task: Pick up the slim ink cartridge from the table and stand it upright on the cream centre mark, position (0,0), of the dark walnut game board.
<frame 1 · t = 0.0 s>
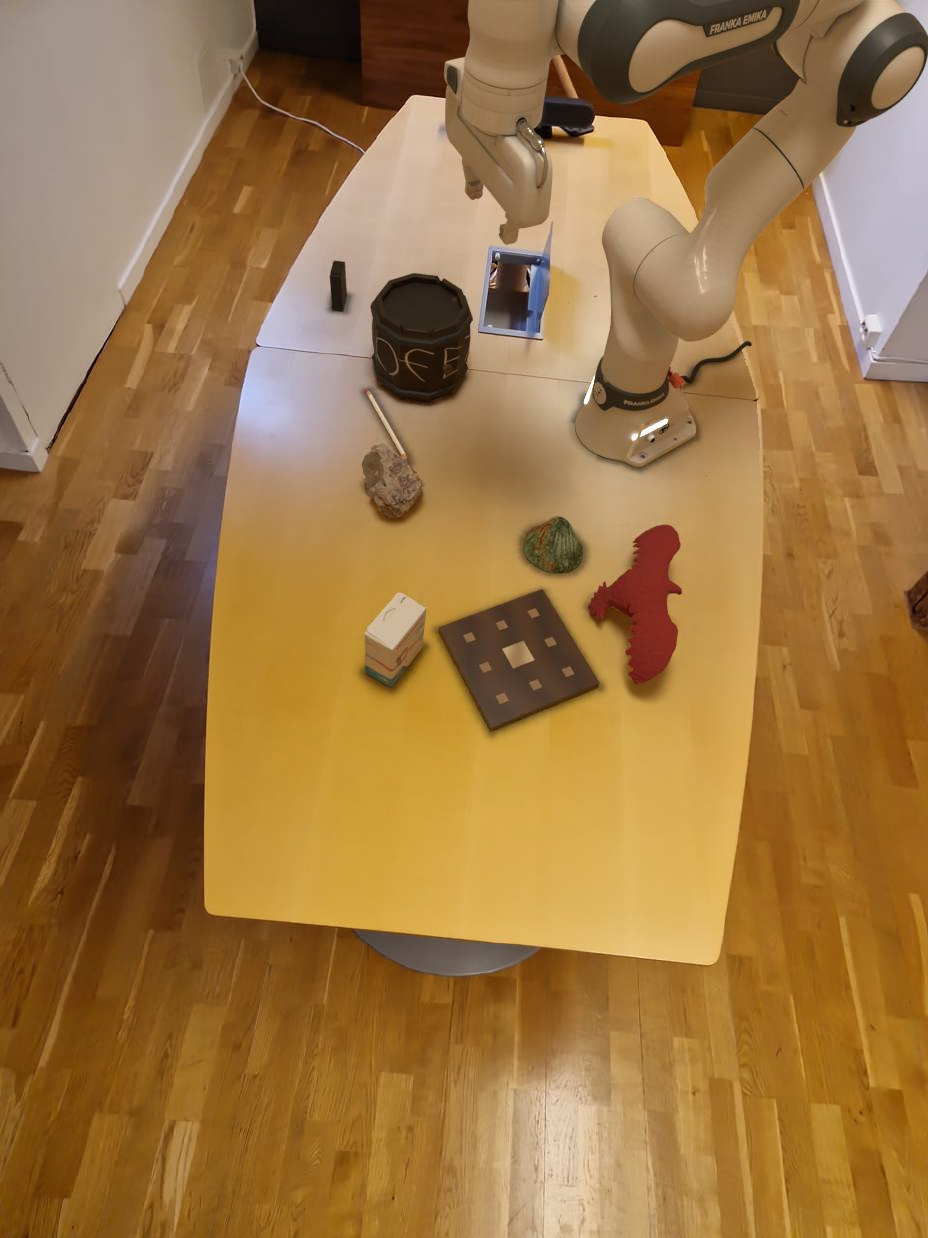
hand: (490, 217, 99), 48 cm above the table, tool pointing down, fingers open, 8 cm apart
wooden barrel: (420, 374, 153), on the table
decorative bird sculpture: (626, 615, 128), on the table
pencil: (386, 427, 145), on the table
rock: (390, 502, 137), on the table
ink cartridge: (339, 303, 161), on the table
board: (517, 658, 123), on the table
seashell: (553, 548, 134), on the table
ink box: (394, 660, 121), on the table
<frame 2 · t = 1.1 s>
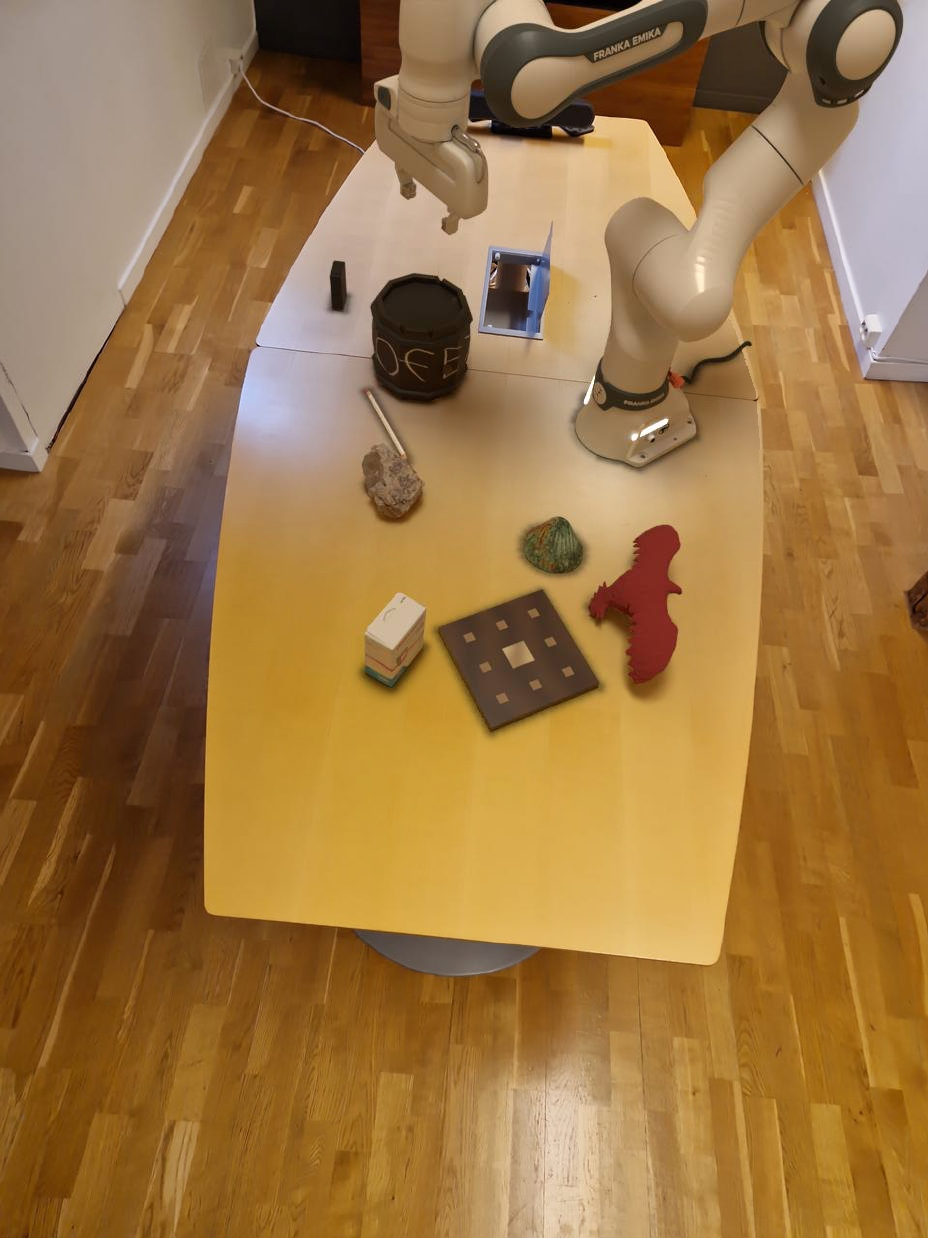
hand: (428, 213, 113), 39 cm above the table, tool pointing down, fingers open, 8 cm apart
nothing on the table moved.
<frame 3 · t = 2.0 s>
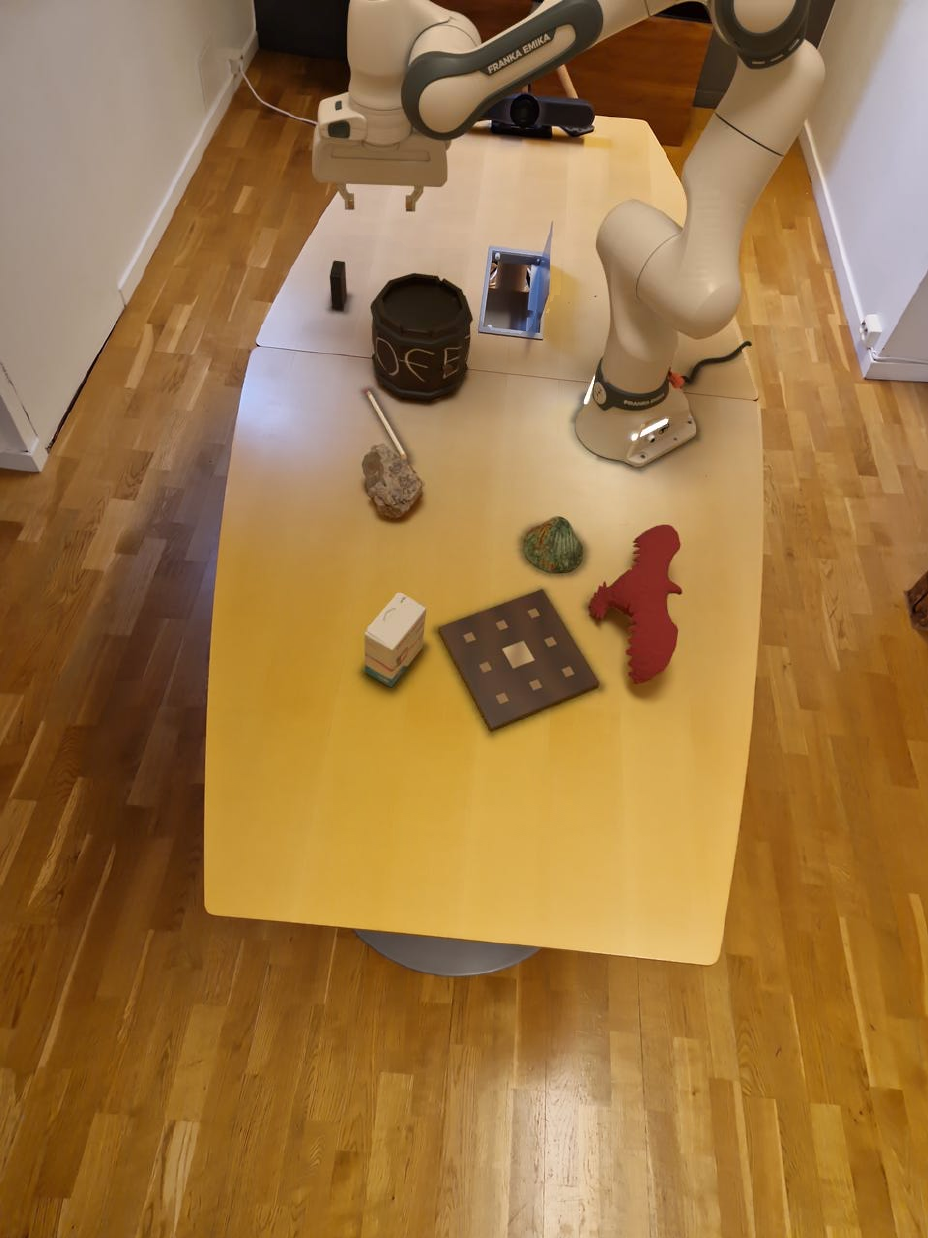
hand: (380, 208, 127), 31 cm above the table, tool pointing down, fingers open, 8 cm apart
nothing on the table moved.
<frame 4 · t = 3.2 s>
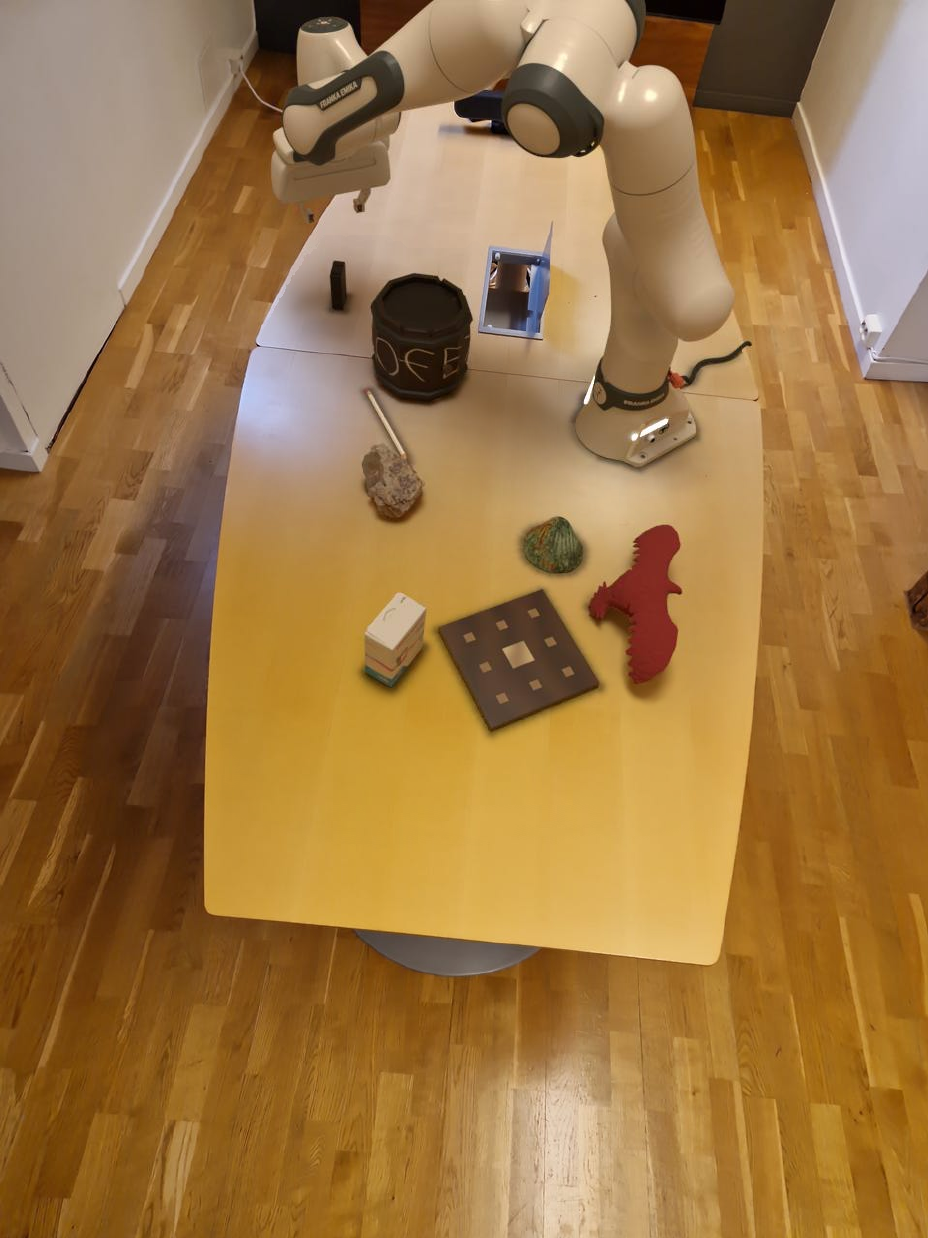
hand: (334, 215, 142), 20 cm above the table, tool pointing down, fingers open, 8 cm apart
nothing on the table moved.
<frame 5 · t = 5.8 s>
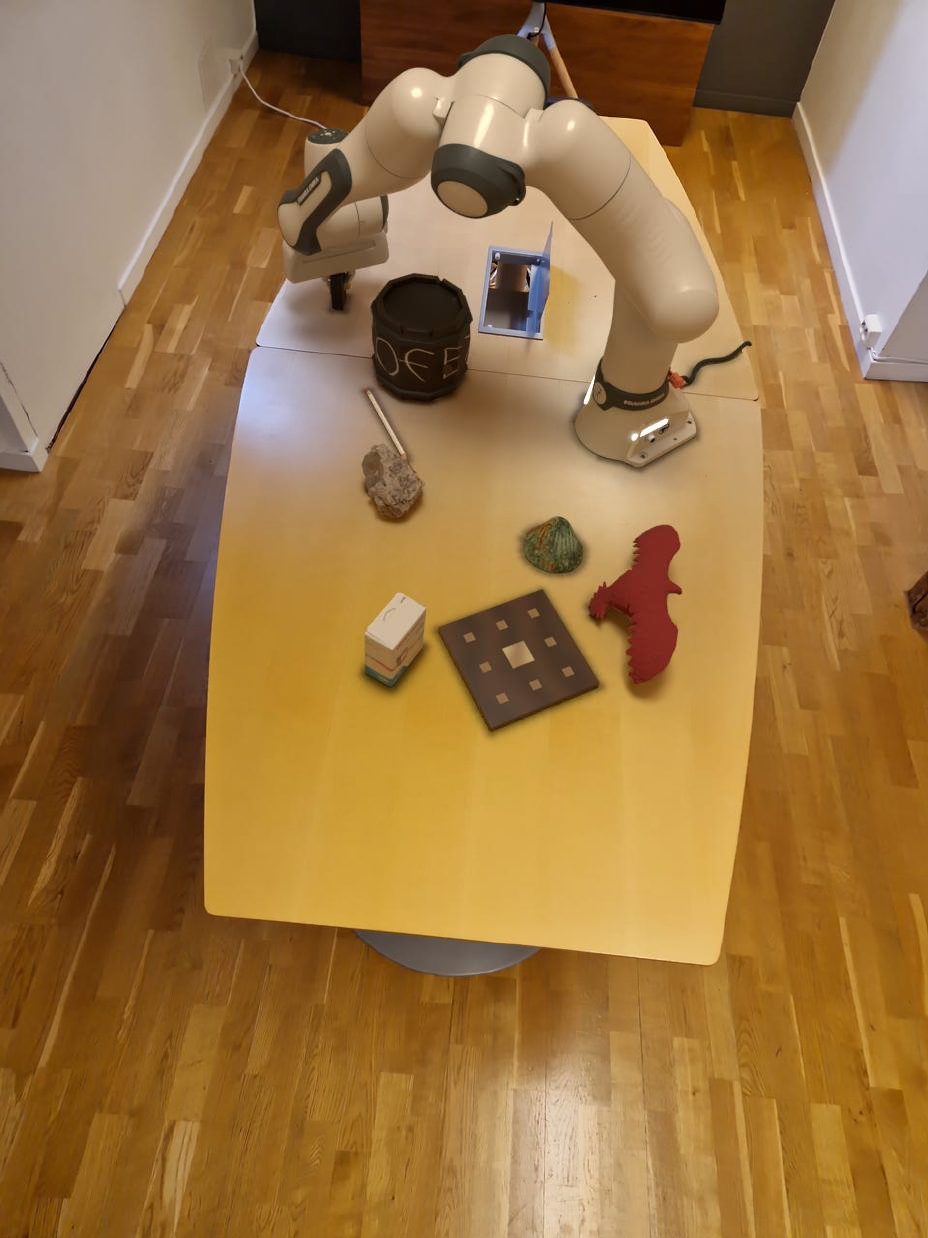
hand: (338, 289, 158), 3 cm above the table, tool pointing down, fingers closed on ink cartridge, 1 cm apart
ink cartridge: (339, 303, 161), on the table, touching gripper
everything else where it was.
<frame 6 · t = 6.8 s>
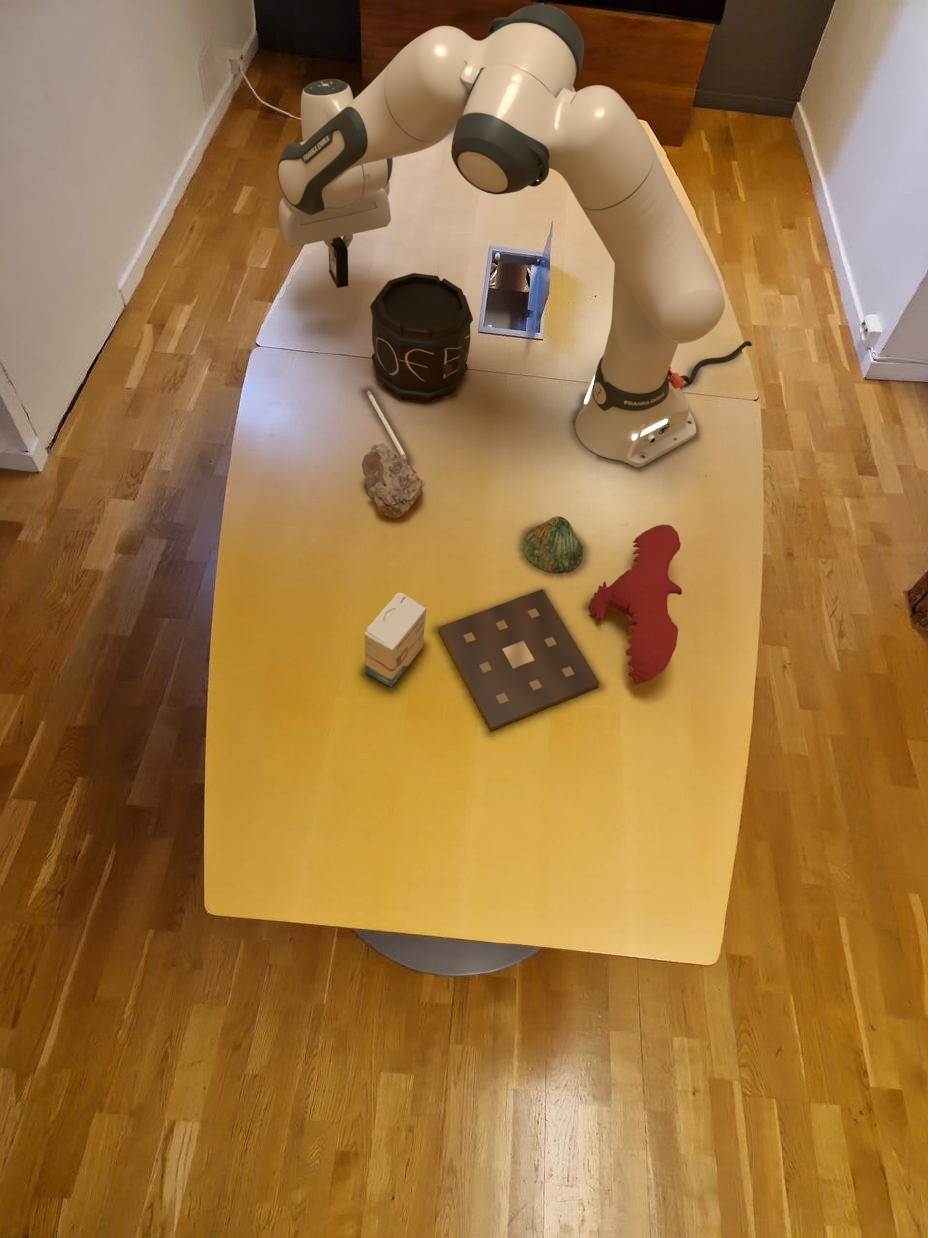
hand: (338, 255, 152), 10 cm above the table, tool pointing down, fingers closed on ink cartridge
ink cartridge: (338, 281, 157), point 5 cm above the table, touching gripper
everything else where it was.
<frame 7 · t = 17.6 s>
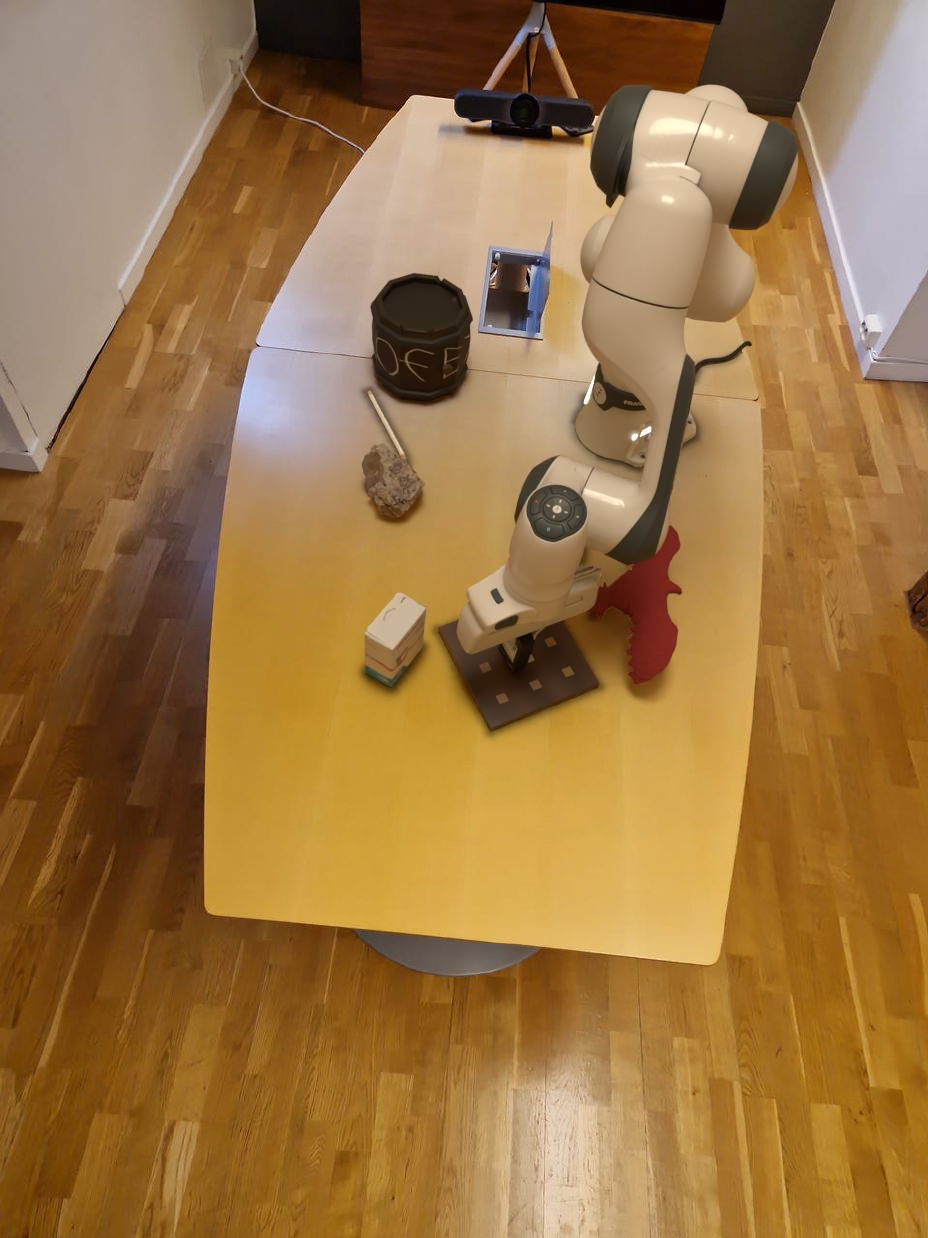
hand: (521, 639, 117), 6 cm above the table, tool pointing down, fingers closed
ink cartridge: (511, 657, 121), point 1 cm above the table, touching board, gripper
everything else where it was.
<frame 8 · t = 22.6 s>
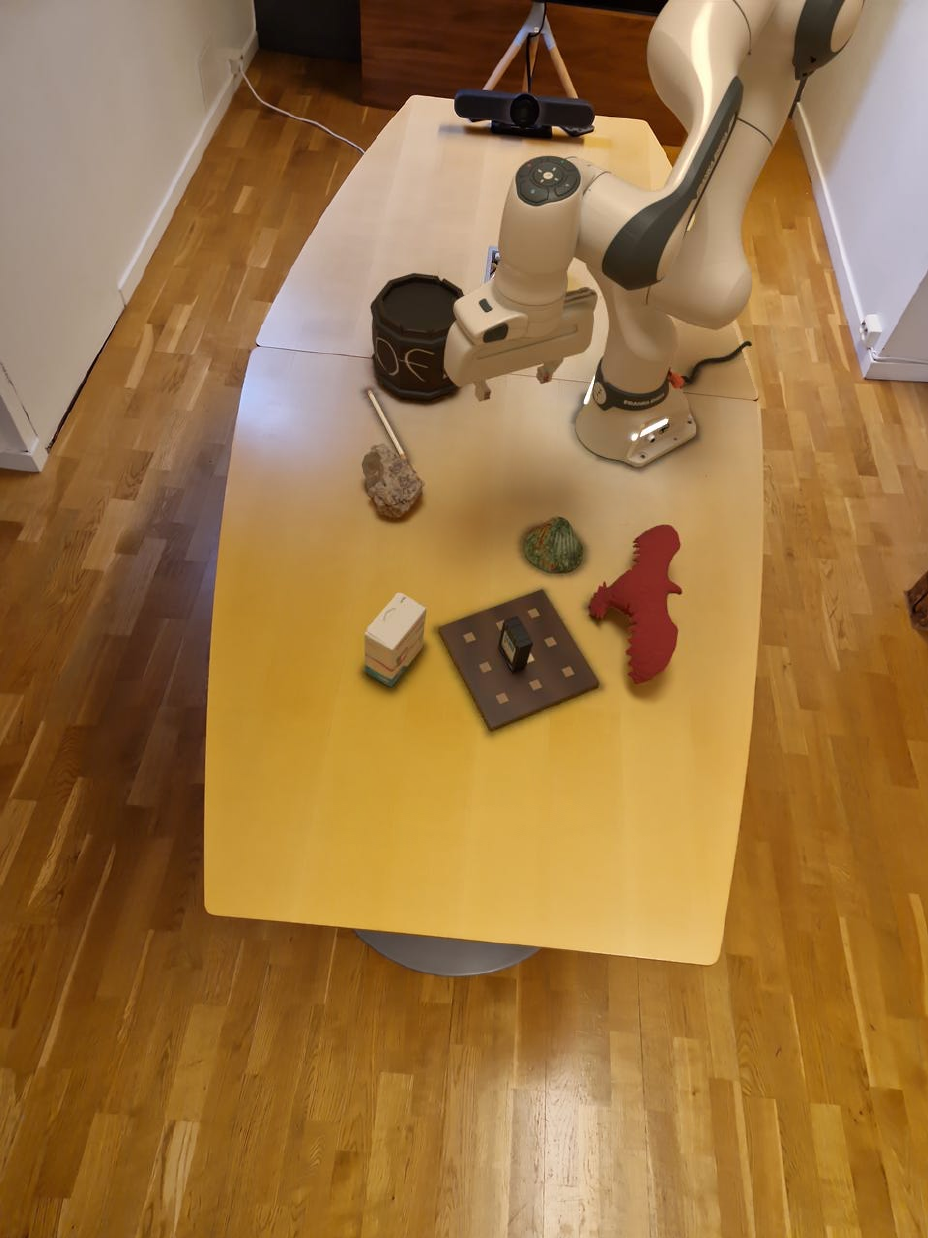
hand: (513, 388, 111), 29 cm above the table, tool pointing down, fingers open, 8 cm apart
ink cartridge: (511, 658, 121), point 1 cm above the table, touching board
everything else where it was.
at the end: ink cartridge 1.2 cm off-centre on the board, point 1.1 cm above the board's base; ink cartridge tilted 0°; the gripper is holding nothing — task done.
